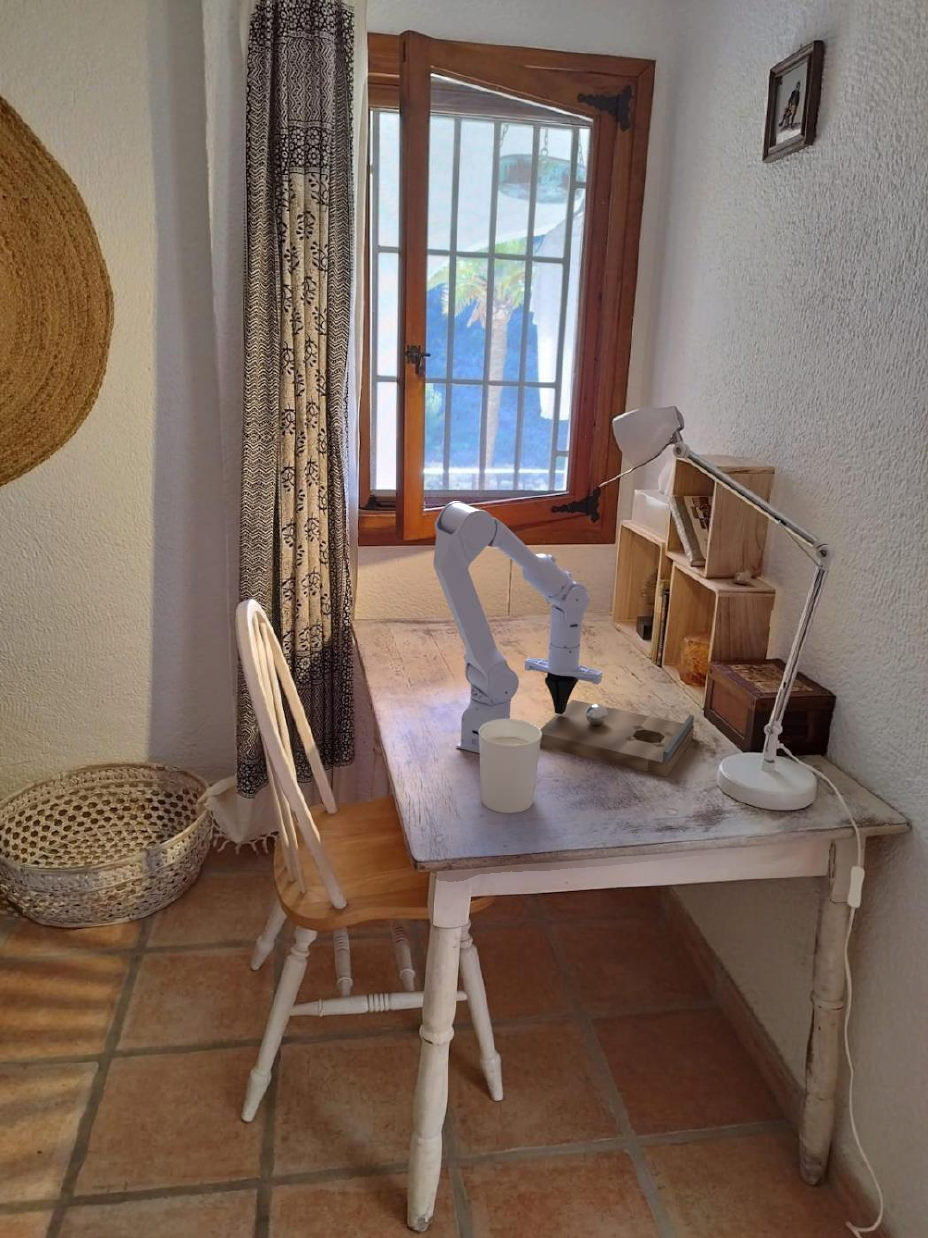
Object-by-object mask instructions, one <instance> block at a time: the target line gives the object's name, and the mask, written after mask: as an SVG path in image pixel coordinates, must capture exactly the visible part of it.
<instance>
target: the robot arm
mask: <svg viewBox="0 0 928 1238" xmlns="http://www.w3.org/2000/svg"><path fill="white" fill-rule="evenodd" d="M434 530H435V535H436V537H435V546H434V555H433V568H434V571H435V574H436V576H437V579H438V581H439V583H440V586H441V589H442V592H443V594H444V597H445V600H446V602H447V604H448V608H449V610H450V613H451V614H452V618H453V621H454V623H455V625H456V628H457V630H458V633H459V636H460V639H461V640H462V643H463V646H464V649H465V653H464V654H463V659H464V663H465V666H464V667H465V670H464V677H465V679H466V680H467V682H468V684H470V699H469V703H468V706H467V707H466V709H465V710H464V711H463V713H462V715H461V726H460V727H461V728H460V741H459V742H457V743H456V744H455V746H456V748H458V749H462V750H465V751H469V752H472V753H478V754H480V749H479V728H480V727H481V726H482V725H483V724H484V723H486V722H489V721H492V720H497V719H511V702H512V698H513V697H514V696H515V695H516V693H517V691H518V689H519V684H520V683H519V682H520V681H519V676H518V674H517V673H516V672H515V671H514V670H513V669H511V667H510V666H509V664H508V662H507V659H506V658H505V657H504V655H503V654H502V653H501V651H500V650H499V648H498V646H497V645H496V642H495V639H494V636H493V633H492V631H491V629H490V628H491V627H490V626H489V622H488V621H487V617H486V615H485V612H484V609H483V606H482V604H481V601H480V598H479V596H478V593H477V589H476V587H475V585H474V582H473V579H472V576H471V574H470V571H469V567H470V566H471V564H472V562H473V561H475V559H476V558H477V557H478V556H479V555H480V554H481V553H482V552H483V550H484V549H486V547H490V548H497V549H498V550H499V551H500V552H501V553H503V554H504V555H505V556H506V557H508V558H510V559H511V560H512V561H513V563H516V565H518V566H519V567H521V569H522V570H521V571H522V572H521V574H522V578H523V580H524V581H525V582H527V583H528V584H529V585H530V586H531V587H532V588H534V590H536V591H537V592H539V593H540V594H541V595H542V596H543V597H544V599H545V601H546V603H547V604H550V605H551V606H550V618H549V619H550V620H549V636H548V650H547V654H548V655H547V658H545V659H544V658H535V657H534V658H533V657H528V658H526V659H525V660H524V671H535V672H539V673H544V674H546V677H545V678H544V683H545V686H546V687H547V688H548V691H549V693H550V696H551V700H552V703H553V709H554V713H555V714H563V713H564V712H565V710H566V706H567V704H568V703H569V700H570V697H571V694H572V692H573V690H574V688H575V686H576V685H577V683H578V682H579V680H581V681H585V682H590V683H592V684H593V685H599V684H600V683H601V682H602V676H603V671H601V670H597V669H592V668H590V667H588V666H585V665H582V664H580V653H581V651H580V650H581V640H582V638H581V636H582V627H583V626H582V624H583V620H584V615H585V612H586V610H587V609H588V607H589V605H590V603H591V597H590V596H589V593H588V590H587V588H586V587H585V586H584V585H583V584H581V583H579V582H578V581H577V582H576V581H575V580H574V579H573V578H572V577H573V574H572V573H571V572H569V571H567V570H564V569H563V568H561V567H560V566H559V565H558V564H557V563H556V561H557V558H556V557H554V556H553V555H551V554H546V553H534V552H533V551H532V550H531V549H530V548H529V547H528V546H527V545H526V544H525V543H524V542H523V540H521V539H520V538H519V537H518V536H517V535H516V534H515V533H514V532H513V531H511V530H510V529H509V527H507V525H506V524H505V523H503V522H502V521H500V520H499V519H497V518H495V517H493V515H492V514H490V513H489V512H488V511H486V510H483V509H478V508H476V507H473V506H470V505H468V504H467V503H465V502H463V501H460V500H459V501H458V500H457V501H456V500H455V501H454V500H453V501H451V502H449V503H447V504H446V505H445V506H444V507H443V508H442V509H441V511H440V513H439V514H438V516H437V518H436V520H435V522H434Z"/></svg>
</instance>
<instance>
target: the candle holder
mask: <svg viewBox="0 0 928 1238" xmlns="http://www.w3.org/2000/svg"><path fill="white" fill-rule="evenodd" d="M540 729H541V728H539V727H538V726H537V725H535V724H534V723H531V722H530V721H526V720H522V719H516V718H510V719H497V720H492V721H489V722H486V723H484V724H483V725H482V726H481V727H480V728H479V749H480V753H479V776H480V777H479V779H480V780H479V781H480V782H479V783H480V785H479V786H480V799H481V803H482V804H483V805H484V806H485V807H486V808H487V809H489V810H491V811H494V812H497V813H502V814H517V813H521V812H525V811H527V810H528V809H531V807H532V805H533V803H534V800H535V792H536V784H537V778H538V777H537V776H538V768H539V767H538V766H539V760H540V752H541V751H540V750H541V747H540V744H541V738H542V732H541V730H540Z"/></svg>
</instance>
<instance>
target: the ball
mask: <svg viewBox="0 0 928 1238" xmlns="http://www.w3.org/2000/svg"><path fill="white" fill-rule="evenodd" d="M591 704H592V705H590V706H589V707H588V708H587V710H586V719H587V721H588V722H589V723H590V724H592V725H601V724H603V723H604V722H605V721H606V719H607V715H608V714H607V710H606V708H605V707H606V706H604V705H603V704H601V703H591Z"/></svg>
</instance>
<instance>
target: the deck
mask: <svg viewBox="0 0 928 1238" xmlns="http://www.w3.org/2000/svg"><path fill="white" fill-rule="evenodd" d="M592 704H593V703H590V702H584V701H581V700H576V699H572V700H570V701H568V703H567V706H566V710H565V712H564V713H563V714H557V713H555V715H554V716H553V717H552V718H551V719H550V720H549V721H547V723H546V724H545V725H543V726H542V727H541V728H540V730H541V732H542V738H541V744H540V748H541V747H542V748H546V749H548V750H553V751H558V752H561V753H566V754H570V755H574V756H578V757H581V758H585V759H586V758H587V759H591V760H594V761H600V762H604V763H606V764H612V765H616V766H620V767H624V768H628V769H632V770H637V771H640V772H644V773H648V774H653V775H657V776H660V777H665V778H667V777H668V776H669V774H670V773H671V772H672V770H673V768H675V766H676V764H677V763H678V761H679V759H680V758H681V757H682V755H683V753H684V752H685V750H686V749H687V747H688V746H689V744H690V743H691V741H692V740H693V739H694V731H695V730H694V729H695V725H694V722H695V721H694V720H695V715H693V714H689V715H688V717H687V718H686V719H685V721H684V722H683V723H682V722H679V721H674V720H671V719H669V720H668V719H664V718H660V717H655V716H650V715H645V714H640V713H638V712H637V713H636V712H631V711H628V710H622V709H617V708H613V707H610V706H609V707H608V706H604V707H605V708H606V710H607V714H608V715H607V719H606V721H605V722H604V723H603V724H601V725H592V724H590V723H589V722H588V721H587V719H586V710H587V708H588V707H589V706H590V705H592Z"/></svg>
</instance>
